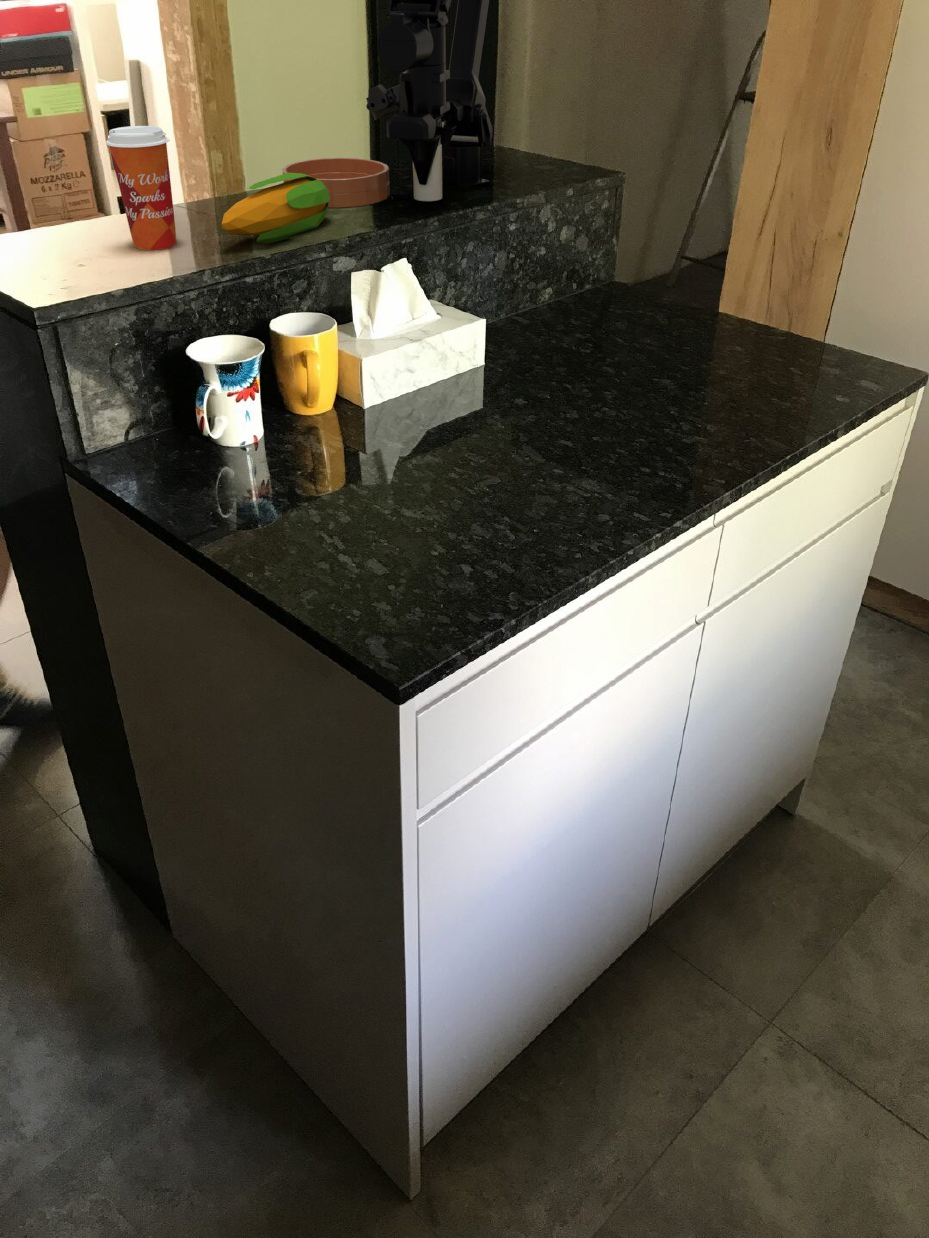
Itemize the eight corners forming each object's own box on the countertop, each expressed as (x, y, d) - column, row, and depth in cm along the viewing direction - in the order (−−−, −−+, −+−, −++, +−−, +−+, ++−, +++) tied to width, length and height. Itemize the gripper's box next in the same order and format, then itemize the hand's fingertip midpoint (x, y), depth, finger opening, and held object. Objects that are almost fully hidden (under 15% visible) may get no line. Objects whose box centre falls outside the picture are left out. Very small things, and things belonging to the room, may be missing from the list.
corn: (340, 166, 138) (240, 193, 124) (347, 224, 142) (251, 256, 129) (300, 164, 142) (198, 190, 128) (308, 220, 146) (210, 252, 132)
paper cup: (126, 254, 130) (103, 137, 122) (125, 239, 136) (104, 126, 128) (187, 249, 132) (169, 134, 124) (183, 235, 138) (166, 123, 130)
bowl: (342, 183, 165) (340, 153, 162) (411, 199, 156) (410, 168, 153) (264, 200, 155) (260, 169, 152) (332, 217, 146) (329, 185, 143)
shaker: (428, 193, 154) (426, 133, 149) (448, 198, 152) (447, 137, 147) (407, 198, 152) (405, 137, 147) (428, 203, 149) (427, 141, 144)
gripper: (393, 54, 150) (397, 166, 159) (348, 70, 136) (355, 191, 145) (464, 57, 148) (464, 170, 157) (426, 73, 133) (428, 196, 142)
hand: (427, 181), depth 150 cm, fingers closed on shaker, 4 cm apart
